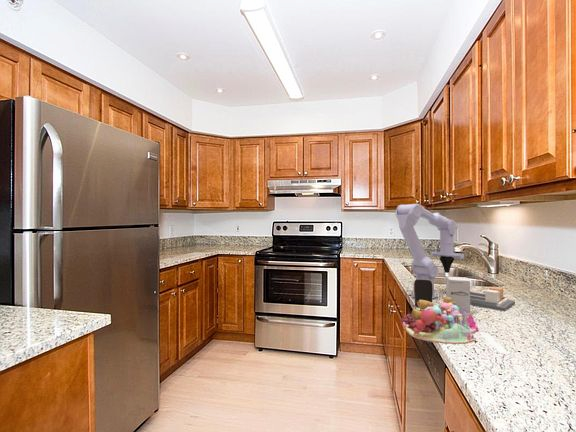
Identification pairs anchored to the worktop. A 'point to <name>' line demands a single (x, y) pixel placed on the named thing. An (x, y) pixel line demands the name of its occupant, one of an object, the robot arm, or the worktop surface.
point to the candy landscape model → (440, 323)
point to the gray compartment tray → (479, 300)
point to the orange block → (498, 290)
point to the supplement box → (459, 292)
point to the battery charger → (423, 290)
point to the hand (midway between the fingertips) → (447, 272)
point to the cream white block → (492, 296)
